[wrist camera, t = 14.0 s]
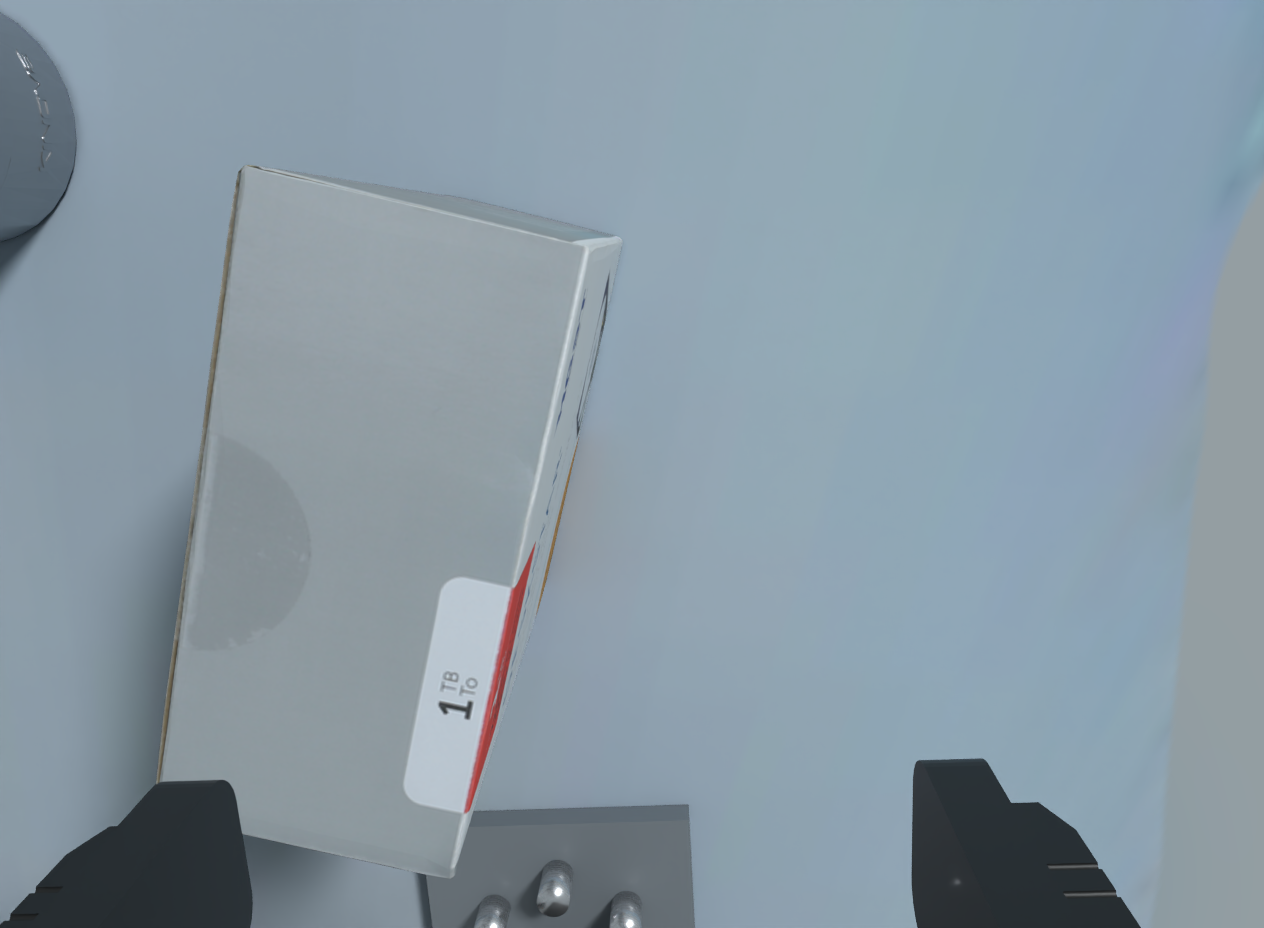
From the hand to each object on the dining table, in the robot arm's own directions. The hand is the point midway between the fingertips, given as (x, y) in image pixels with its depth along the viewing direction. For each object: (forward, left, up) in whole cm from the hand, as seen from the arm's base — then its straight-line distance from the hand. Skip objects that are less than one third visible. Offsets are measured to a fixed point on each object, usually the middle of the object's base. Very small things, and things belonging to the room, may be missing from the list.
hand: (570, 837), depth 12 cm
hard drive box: (-6, 0, -30) cm, 31 cm away
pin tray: (-5, -26, -30) cm, 40 cm away
